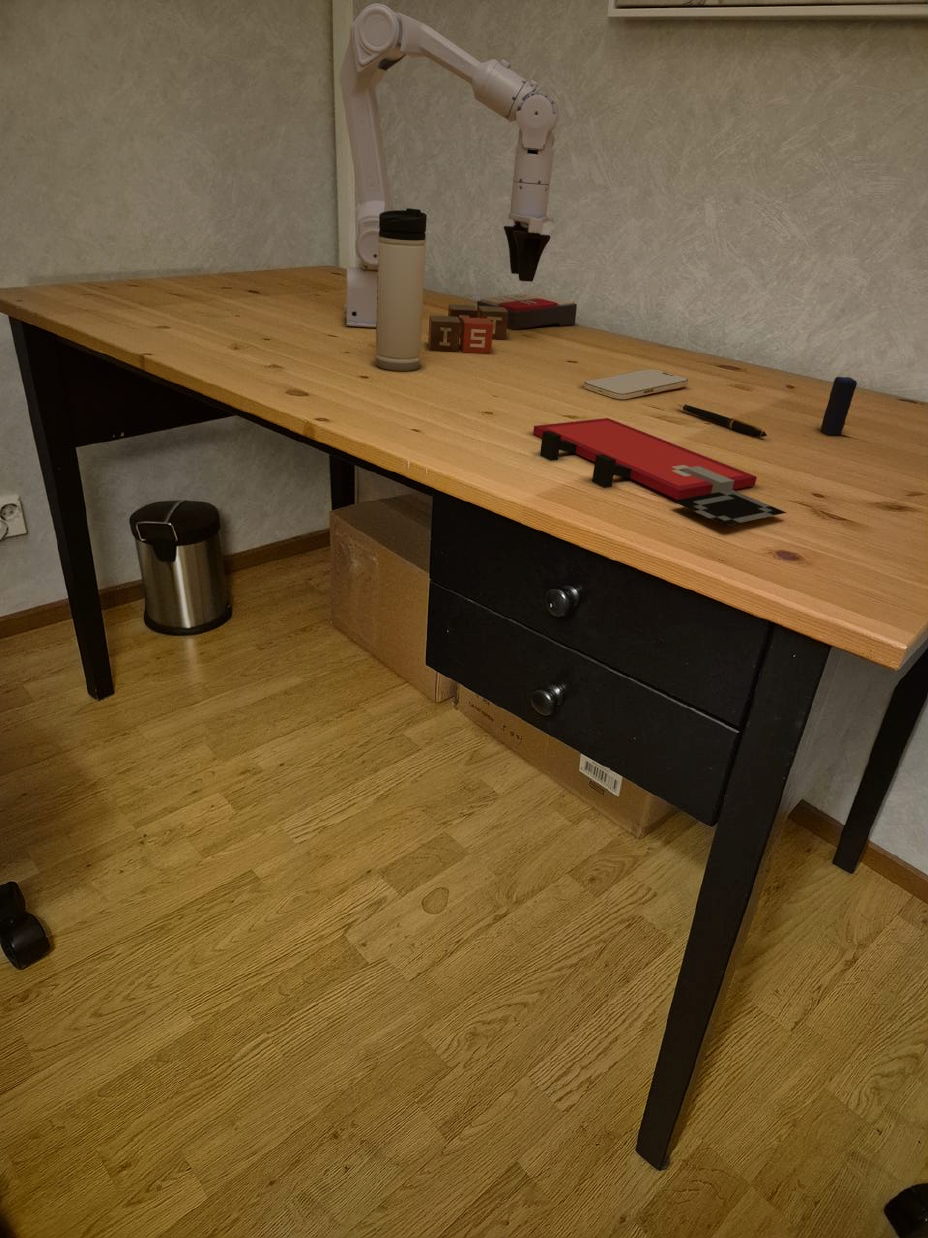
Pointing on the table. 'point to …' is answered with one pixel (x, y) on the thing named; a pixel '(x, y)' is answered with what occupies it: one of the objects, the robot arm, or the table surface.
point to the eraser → (838, 405)
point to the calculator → (533, 309)
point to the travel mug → (400, 289)
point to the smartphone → (635, 384)
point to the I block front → (444, 333)
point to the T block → (495, 320)
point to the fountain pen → (726, 421)
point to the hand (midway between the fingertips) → (521, 277)
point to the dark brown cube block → (462, 311)
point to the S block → (476, 335)
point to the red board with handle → (657, 467)
